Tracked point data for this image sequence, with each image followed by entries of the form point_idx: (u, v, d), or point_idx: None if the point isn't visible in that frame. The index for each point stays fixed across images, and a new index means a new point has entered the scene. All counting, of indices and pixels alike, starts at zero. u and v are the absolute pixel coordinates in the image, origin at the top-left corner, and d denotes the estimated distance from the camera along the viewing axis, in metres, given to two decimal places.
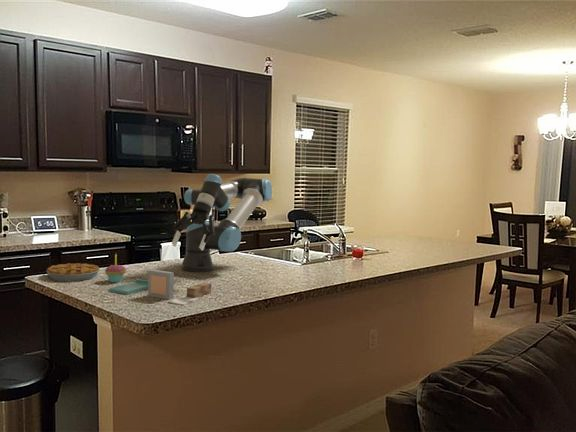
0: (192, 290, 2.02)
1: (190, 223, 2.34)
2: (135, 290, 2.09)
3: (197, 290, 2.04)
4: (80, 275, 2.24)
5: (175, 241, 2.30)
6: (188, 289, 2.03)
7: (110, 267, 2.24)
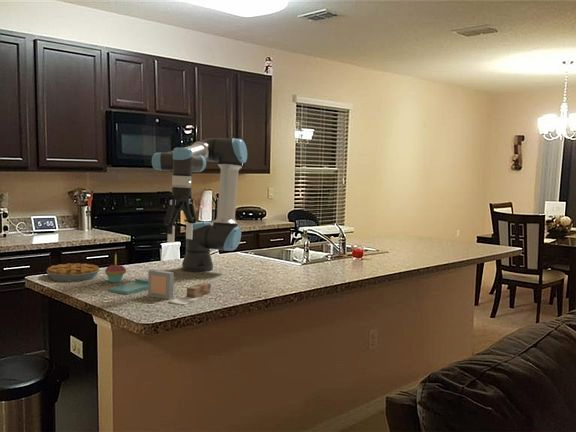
0: (192, 290, 2.02)
1: None
2: (135, 290, 2.09)
3: (197, 290, 2.04)
4: (80, 275, 2.24)
5: None
6: (188, 289, 2.03)
7: (110, 267, 2.24)
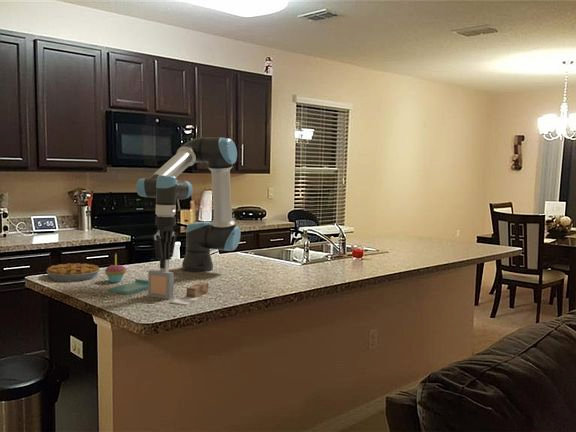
0: (192, 290, 2.03)
1: None
2: (135, 290, 2.09)
3: (197, 290, 2.04)
4: (80, 275, 2.24)
5: None
6: (188, 289, 2.03)
7: (110, 267, 2.24)
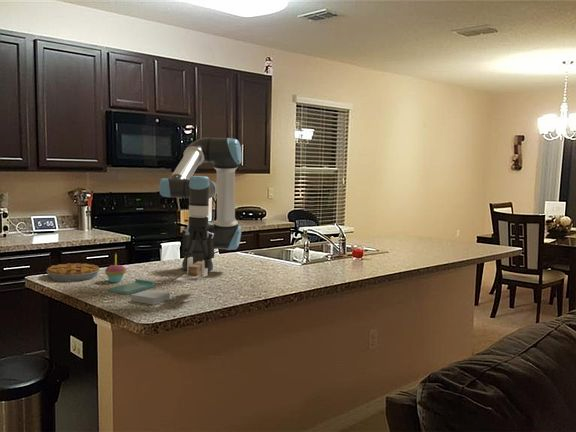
0: (194, 268, 2.03)
1: None
2: (135, 290, 2.09)
3: (198, 268, 2.04)
4: (80, 275, 2.24)
5: None
6: (190, 268, 2.03)
7: (110, 267, 2.24)
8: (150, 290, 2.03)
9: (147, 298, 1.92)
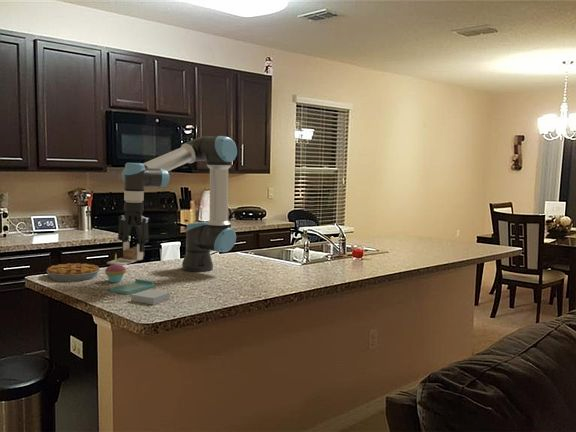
0: (129, 252, 2.09)
1: None
2: (135, 290, 2.09)
3: (133, 252, 2.11)
4: (80, 275, 2.24)
5: None
6: (124, 251, 2.09)
7: (110, 267, 2.24)
8: (150, 290, 2.03)
9: (147, 298, 1.92)
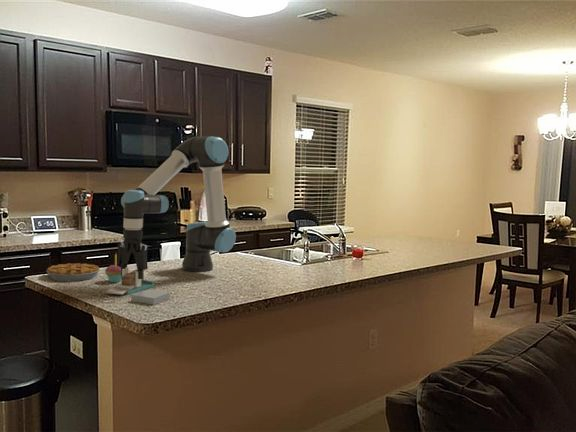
0: (127, 278, 2.10)
1: None
2: (135, 290, 2.09)
3: (132, 278, 2.12)
4: (80, 275, 2.24)
5: None
6: (123, 278, 2.10)
7: (110, 267, 2.24)
8: (150, 290, 2.03)
9: (147, 298, 1.92)
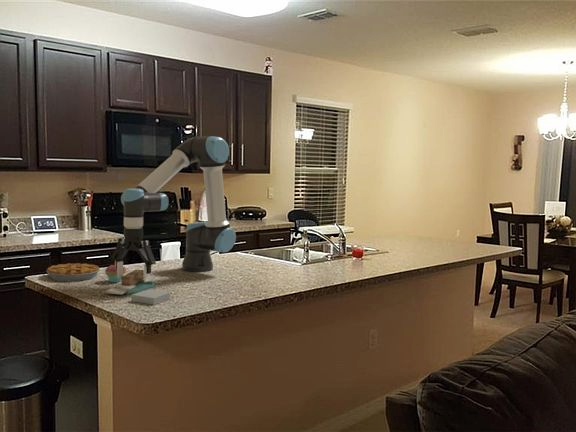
0: (127, 278, 2.10)
1: None
2: (135, 290, 2.09)
3: (131, 278, 2.12)
4: (80, 275, 2.24)
5: None
6: (123, 278, 2.10)
7: (110, 267, 2.24)
8: (150, 290, 2.03)
9: (148, 298, 1.92)
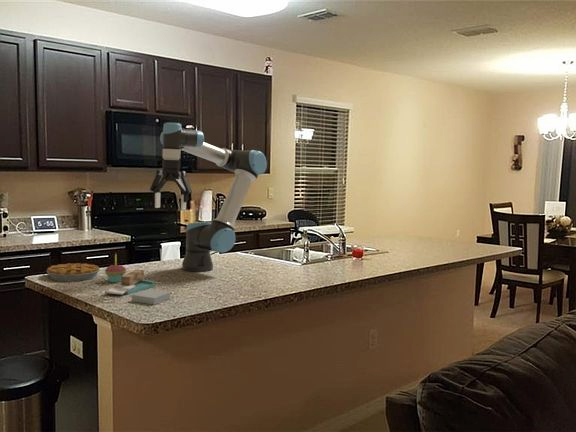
0: (127, 278, 2.10)
1: None
2: (135, 290, 2.09)
3: (131, 278, 2.12)
4: (80, 275, 2.24)
5: None
6: (123, 278, 2.10)
7: (110, 267, 2.24)
8: (150, 290, 2.03)
9: (148, 298, 1.93)
